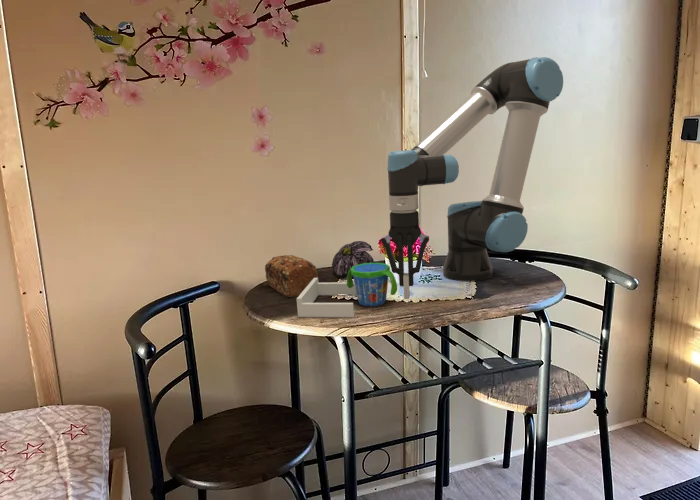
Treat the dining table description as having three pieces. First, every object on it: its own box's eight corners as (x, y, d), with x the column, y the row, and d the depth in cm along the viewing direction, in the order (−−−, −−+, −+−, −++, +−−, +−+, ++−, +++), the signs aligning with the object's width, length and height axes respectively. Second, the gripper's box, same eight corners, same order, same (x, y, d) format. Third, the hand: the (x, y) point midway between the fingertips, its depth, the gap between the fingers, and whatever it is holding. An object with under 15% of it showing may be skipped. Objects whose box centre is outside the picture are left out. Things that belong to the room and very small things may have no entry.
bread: (319, 292, 162) (317, 260, 160) (285, 299, 158) (283, 266, 156) (296, 279, 179) (293, 249, 176) (265, 285, 174) (262, 254, 172)
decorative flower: (317, 247, 178) (354, 228, 184) (323, 275, 185) (358, 255, 191) (343, 266, 168) (381, 245, 174) (348, 295, 174) (385, 273, 181)
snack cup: (338, 302, 152) (336, 267, 149) (364, 293, 159) (362, 259, 157) (380, 313, 141) (378, 275, 139) (406, 303, 148) (405, 266, 146)
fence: (364, 293, 158) (363, 277, 157) (353, 317, 139) (352, 298, 138) (315, 294, 161) (314, 277, 160) (298, 317, 142) (296, 298, 141)
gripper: (377, 213, 140) (381, 302, 145) (428, 212, 137) (431, 301, 142) (380, 209, 147) (384, 293, 152) (429, 207, 145) (431, 293, 150)
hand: (406, 297), depth 147 cm, fingers closed
